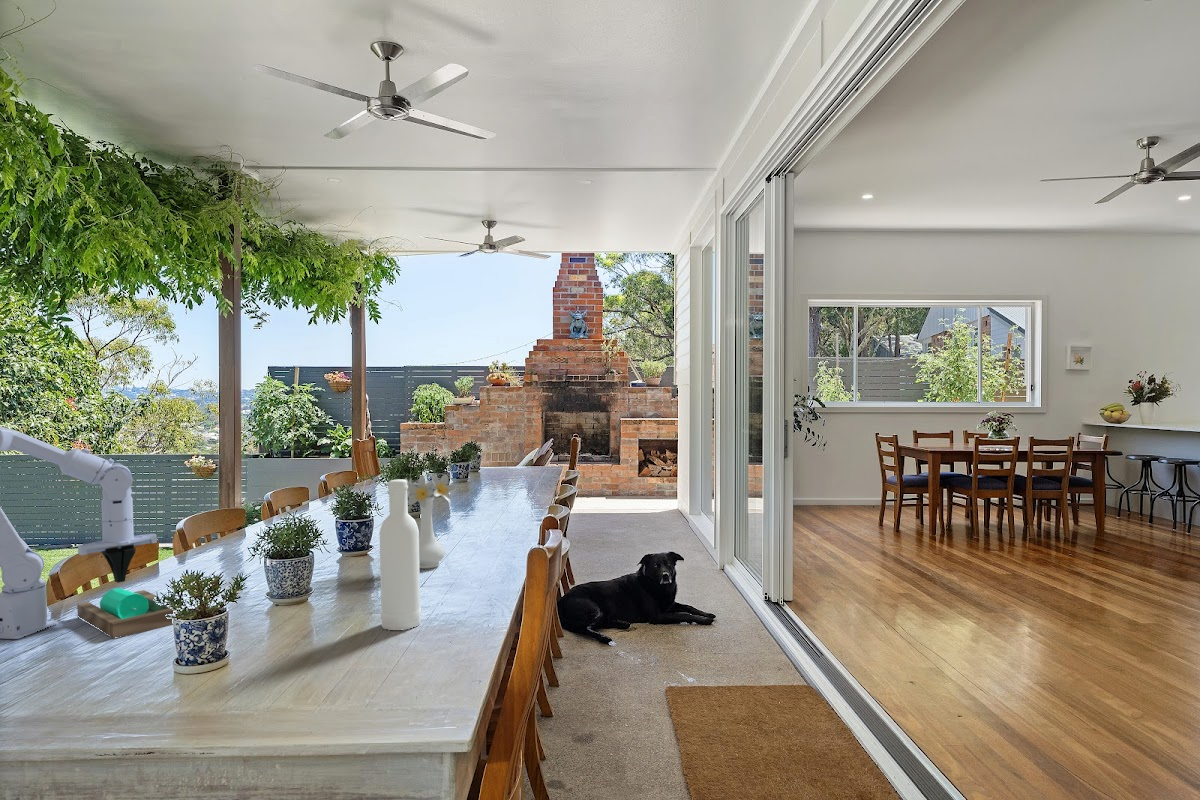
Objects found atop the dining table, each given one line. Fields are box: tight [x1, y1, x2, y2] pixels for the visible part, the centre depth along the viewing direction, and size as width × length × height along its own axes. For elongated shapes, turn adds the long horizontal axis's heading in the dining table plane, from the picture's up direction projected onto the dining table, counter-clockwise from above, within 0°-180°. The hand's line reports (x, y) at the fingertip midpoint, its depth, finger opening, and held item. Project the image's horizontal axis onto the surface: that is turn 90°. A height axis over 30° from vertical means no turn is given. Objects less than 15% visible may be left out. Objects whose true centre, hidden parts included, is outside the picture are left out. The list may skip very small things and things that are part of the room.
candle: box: [99, 587, 149, 619], centre depth 157 cm, size 6×6×12 cm
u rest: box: [76, 589, 173, 639], centre depth 157 cm, size 22×13×3 cm, turn 51°
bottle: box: [379, 478, 422, 631], centre depth 151 cm, size 8×8×30 cm
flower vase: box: [387, 473, 458, 570], centre depth 198 cm, size 13×18×25 cm
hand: (119, 581), depth 160 cm, fingers closed
